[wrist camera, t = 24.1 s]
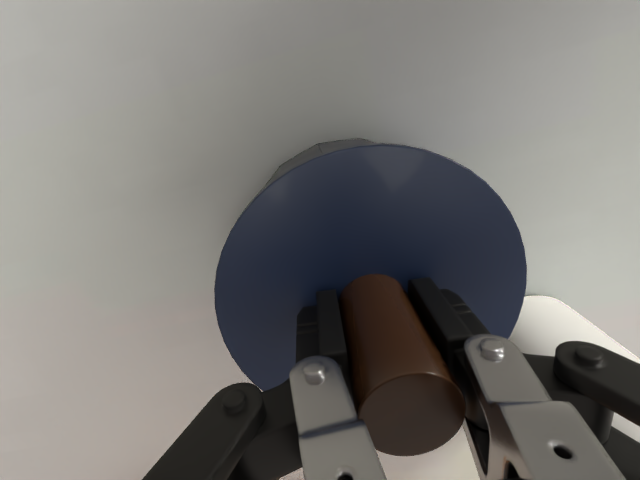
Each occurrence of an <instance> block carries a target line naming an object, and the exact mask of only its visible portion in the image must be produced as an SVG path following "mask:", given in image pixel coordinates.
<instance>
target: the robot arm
mask: <svg viewBox="0 0 640 480" xmlns="http://www.w3.org/2000/svg"><path fill="white" fill-rule="evenodd" d="M408 296H409V298H410V300H411V301H412V303H413V305H414V307H415V309H416V310H417V312H418V314H419V316H420V317H421V319H422V321H423V323H424V325H425V326H426V328H427V330H428V332H429V334H430V335H431V337H432V339H433V341H434V342H435V344H436V346H437V348H438V350H439V351H440V353H441V355H442V357H443V359H444V360H445V362H446V364H447V366H448V367H449V369H450V371H451V373H452V375H453V376H454V378H455V380H456V382H457V384H458V385H459V387H460V389H461V391H462V393H463V395H464V397H465V401H466V415H465V418H464V421H463V423H462V424H463V428H464V431H465V434H466V437H467V440H468V443H469V446H470V450H471V453H472V456H473V459H474V462H475V465H476V468H477V471H478V474H479V477H480V480H640V443H639V442H637V441H636V440H634V439H632V438H631V437H629V436H627V435H626V434H624V433H623V432H621V431H619V430H618V429H616V428H614V427H613V426H611V425H612V420H613V416H614V412H615V413H617V414H618V415H620V416H622V417H624V418H625V419H627V420H629V421H631V422H632V423H634V424H636V425H638V426H639V427H640V364H639V363H637V362H635V361H632V360H630V359H628V358H626V357H624V356H621V355H619V354H617V353H615V352H613V351H610V350H608V349H606V348H604V347H601V346H599V345H596V344H593V343H589V342H583V341H567V342H563V343H561V344H559V345H558V346H557V347H556V350H555V356H543V355H532V354H525V353H521V351H520V349H519V348H518V347H517V346H516V345H515V344H514V343H513V342H511V341H510V340H508V339H506V338H503V337H501V336H497V335H492V334H491V333H490V332H489V331H488V330H487V328H486V327H485V326H484V325H483V324H482V322H481V321H480V320H479V319H478V318H477V316H476V315H475V314H474V313H473V312H472V310H471V309H470V308H469V307H468V306H467V305H466V303H465V302H464V301H463V300H462V298H461V297H460V296H459V295H458V294H456V293H454V292H452V291H450V290H449V289H440V290H439V288H438V287H437V286H436V284H435V283H434V282H433V280H432V279H431V278H430V277H426V278H418V279H411V280H408ZM316 301H317V305H315V306H308V307H303V308H302V309H301V311H300V312H299V314H298V315H297V330H296V334H297V335H296V364H295V365H294V366H293V367H292V369H291V371H290V374H289V378H288V379H287V380H286V381H285V382H283V383H282V384H280V385H278V386H276V387H274V388H271V389H269V390H266V391H264V392H261V391H260V389H259V388H258V387H257V386H255V385H254V384H250V383H236V384H232V385H230V386H227V387H225V388H223V389H222V390H220V391H219V392H218V393H217V394H215V396H214V397H213V398H212V399H211V400H210V401H209V402H208V403H207V405H206V406H205V407H204V408H203V409H202V410H201V412H200V413H199V414H198V415H197V416H196V417H195V419H194V420H193V421H192V422H191V423H190V424H189V426H188V427H187V428H186V429H185V430H184V431H183V433H182V434H181V435H180V436H179V437H178V438H177V440H176V441H175V442H174V443H173V444H172V445H171V447H170V448H169V449H168V450H167V451H166V452H165V454H164V455H163V456H162V457H161V458H160V459H159V461H158V462H157V463H156V464H155V465H154V466H153V468H152V469H151V470H150V471H149V472H148V473H147V475H146V476H145V477H144V478H143V479H142V480H279V478H280V477H283V476H285V475H287V474H289V473H291V472H293V471H295V470H297V469H299V468H301V467H303V473H304V479H305V480H387V479H386V476H385V473H384V471H383V468H382V466H381V463H380V460H379V458H378V455H377V452H376V450H375V447H374V445H373V442H372V439H371V437H370V434H369V431H368V429H367V426H366V424H365V422H364V420H363V419H358V416H357V414H356V411H355V408H354V405H353V400H352V392H351V386H350V374H349V365H348V356H347V349H346V344H345V338H344V333H343V327H342V322H341V316H340V311H339V305H338V300H337V294H336V289H332V290H325V291H317V292H316Z"/></svg>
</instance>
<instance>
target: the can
mask: <svg viewBox="0 0 640 480" xmlns="http://www.w3.org/2000/svg"><path fill="white" fill-rule="evenodd" d="M508 340H510V341H511V342H513V343H514V344H515V345H516V346H517V347H518V348H519V349H520V351H521V353H525V354H532V355H543V356H555V350H556V347H557V346H558V345H559V344H561V343H563V342H567V341H583V342H589V343H593V344H596V345H599V346H601V347H604V348H606V349H608V350H610V351H613V352H615V353H617V354H619V355H621V356H624V357H626V358H628V359H630V360H632V361H635V362H637V363H639V364H640V359H639V358H638V357H636V356H635V355H634V354H632V353H631V352H630V351H628V350H627V349H626V348H624V347H623V346H622V345H620V344H619V343H618V342H616V341H615V340H614V339H612V338H611V337H610V336H608V335H607V334H606V333H604V332H603V331H602V330H600V329H599V328H598V327H596V326H595V325H594V324H592V323H591V322H590V321H588V320H587V319H585V318H584V317H583V316H581V315H580V314H579V313H577V312H576V311H575V310H573V309H572V308H570V307H569V306H568V305H566V304H565V303H563V302H561V301H560V300H558V299H555V298H552V297H548V296H540V295H535V296H526V297H524V301H523V305H522V308H521V311H520V315H519V318H518V320H517V323H516V325H515V327H514V329H513V331H512V333H511V336H510V337H509V339H508ZM611 426H613V427H614V428H616V429H618V430H619V431H621V432H623V433H624V434H626V435H627V436H629V437H631V438H632V439H634V440H636V441H637V442H639V443H640V427H639V426H638V425H636V424H634V423H632V422H631V421H629V420H627V419H625V418H624V417H622V416H620V415H618V414H617V413H615V412H614V416H613V420H612V425H611Z"/></svg>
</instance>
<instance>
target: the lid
mask: <svg viewBox="0 0 640 480" xmlns="http://www.w3.org/2000/svg"><path fill="white" fill-rule="evenodd" d="M526 275H527V265H526V257H525V250H524V246H523V242H522V239H521V235H520V232H519V229H518V227H517V225H516V223H515V221H514V218H513V216H512V214H511V212H510V211H509V209H508V208H507V206H506V205H505V204H504V202H503V201H502V199H501V198H500V196H499V195H498V194H497V193H496V192H495V191H494V190H493V189H492V188H491V187H490V186H489V185H488V184H487V183H486V182H485V181H484V180H483V179H481V178H480V177H479V176H477V175H476V174H475V173H474V172H472V171H471V170H470V169H468V168H466V167H464V166H463V165H461V164H459V163H457V162H455V161H453V160H452V159H450V158H447V157H444V156H442V155H439V154H436V153H433V152H431V151H428V150H425V149H420V148H416V147H411V146H407V145H398V144H385V143H377V144H360V145H354V146H349V147H344V148H339V149H334V150H331V151H328V152H325V153H322V154H320V155H317V156H314V157H311V158H309V159H307V160H305V161H303V162H301V163H299V164H297V165H295V166H293V167H292V168H290V169H289V170H287V171H286V172H284V173H283V174H281V175H280V176H278V177H277V178H275V179H274V180H273V181H272V182H270V183H269V184H268V185H267V186H266V187H265V188H264V189H263V190H262V191H260V192H259V193H258V194H257V195H256V196H255V198H254V199H253V200H252V201H251V202H250V203H249V205H248V206H247V207H246V208H245V209H244V211H243V212H242V214H241V215H240V217H239V218H238V220H237V222H236V223H235V225H234V226H233V228H232V230H231V231H230V234H229V236H228V238H227V240H226V243H225V245H224V247H223V249H222V252H221V256H220V259H219V263H218V267H217V271H216V279H215V288H214V292H215V310H216V315H217V321H218V325H219V328H220V331H221V334H222V337H223V340H224V342H225V344H226V346H227V348H228V350H229V352H230V354H231V356H232V358H233V359H234V360H235V362H236V363H237V365H238V366H239V367H240V369H241V370H242V371H243V372H244V374H245V375H246V376H247V377H248V378H249V379H250V380H251V381H252V382H253V383H254V384H255V385H256V386H258V387H259V388H260V389H261V390H262V391H266V390H269V389H271V388H274V387H276V386H278V385H280V384H282V383H283V382H285V381H286V380H287V379H288V378H289V374H290V371H291V369H292V367H293V366H294V365H295V364H296V335H297V334H296V330H297V315H298V314H299V312H300V311H301V309H302V308H303V307H308V306H315V305H317V301H316V292H317V291H325V290H332V289H336V294H337V300H338V305H339V311H340V316H341V322H342V327H343V333H344V338H345V344H346V349H347V356H348V365H349V374H350V386H351V392H352V400H353V405H354V408H355V411H356V414H357V416H358V419H363V420H364V422H365V424H366V426H367V429H368V431H369V434H370V437H371V439H372V442H373V445H374V447H375V449H376V450H378V451H380V452H383V453H386V454H390V455H395V456H414V455H419V454H423V453H427V452H429V451H432V450H434V449H436V448H438V447H440V446H442V445H443V444H445V443H446V442H448V441H449V440H450V439H451V438H452V437H453V436H454V435H455V434H456V433H457V432H458V430H459V429H460V427H461V426H462V423H463V421H464V418H465V415H466V401H465V397H464V395H463V393H462V391H461V389H460V387H459V385H458V384H457V382H456V380H455V378H454V376H453V375H452V373H451V371H450V369H449V367H448V366H447V364H446V362H445V360H444V359H443V357H442V355H441V353H440V351H439V350H438V348H437V346H436V344H435V342H434V341H433V339H432V337H431V335H430V334H429V332H428V330H427V328H426V326H425V325H424V323H423V321H422V319H421V317H420V316H419V314H418V312H417V310H416V309H415V307H414V305H413V303H412V301H411V300H410V298H409V296H408V280H411V279H418V278H426V277H430V278H431V279H432V280H433V282H434V283H435V284H436V286H437V287H438V288H439V290H440V289H449V290H450V291H452V292H454V293H456V294H458V295H459V296H460V297H461V298H462V300H463V301H464V302H465V303H466V305H467V306H468V307H469V308H470V309H471V310H472V312H473V313H474V314H475V315H476V316H477V318H478V319H479V320H480V321H481V322H482V324H483V325H484V326H485V327H486V328H487V330H488V331H489V332H490V333H491V334H492V335H497V336H501V337H503V338H506V339H509V337H510V336H511V333H512V331H513V329H514V327H515V325H516V323H517V320H518V318H519V315H520V311H521V308H522V305H523V301H524V295H525V289H526Z"/></svg>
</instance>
